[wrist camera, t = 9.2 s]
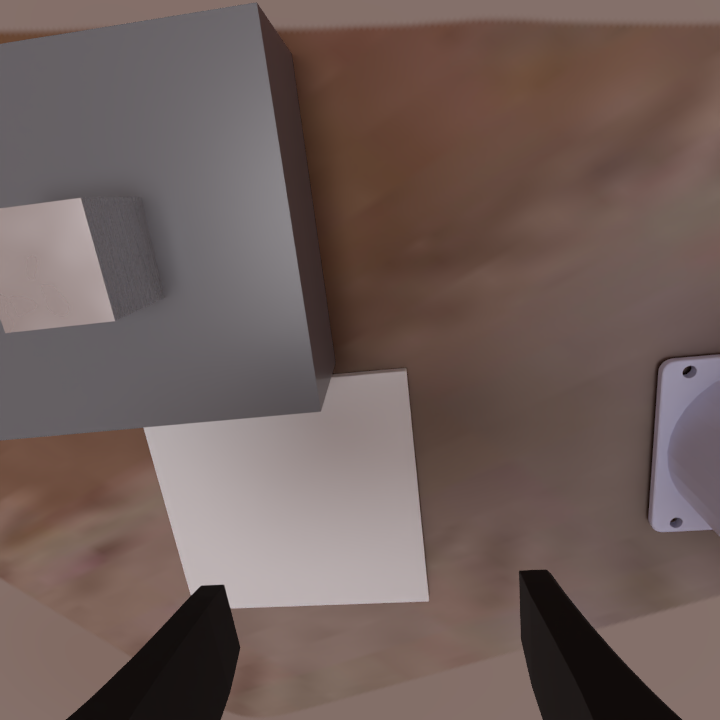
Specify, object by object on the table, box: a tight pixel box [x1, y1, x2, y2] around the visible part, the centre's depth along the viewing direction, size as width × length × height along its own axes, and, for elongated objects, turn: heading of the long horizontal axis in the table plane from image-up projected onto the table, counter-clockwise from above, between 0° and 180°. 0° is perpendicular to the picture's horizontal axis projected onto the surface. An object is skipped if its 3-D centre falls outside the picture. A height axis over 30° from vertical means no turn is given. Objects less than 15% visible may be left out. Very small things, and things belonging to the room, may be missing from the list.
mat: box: [144, 368, 429, 608], centre depth 23 cm, size 12×12×1 cm
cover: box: [0, 3, 335, 440], centre depth 16 cm, size 12×12×8 cm
